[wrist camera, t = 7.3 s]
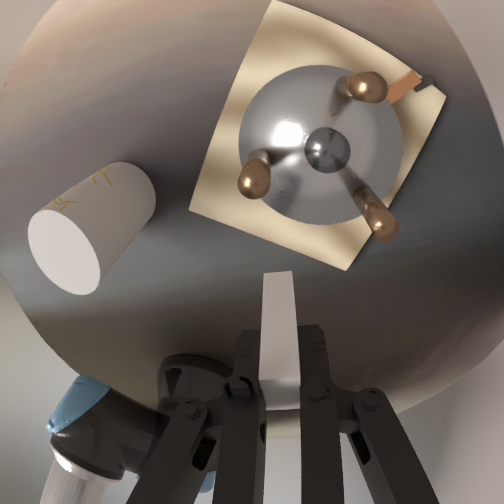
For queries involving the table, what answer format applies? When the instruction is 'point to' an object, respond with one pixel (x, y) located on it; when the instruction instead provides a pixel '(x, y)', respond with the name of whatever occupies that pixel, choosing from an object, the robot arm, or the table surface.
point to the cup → (91, 226)
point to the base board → (261, 72)
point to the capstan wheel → (324, 146)
